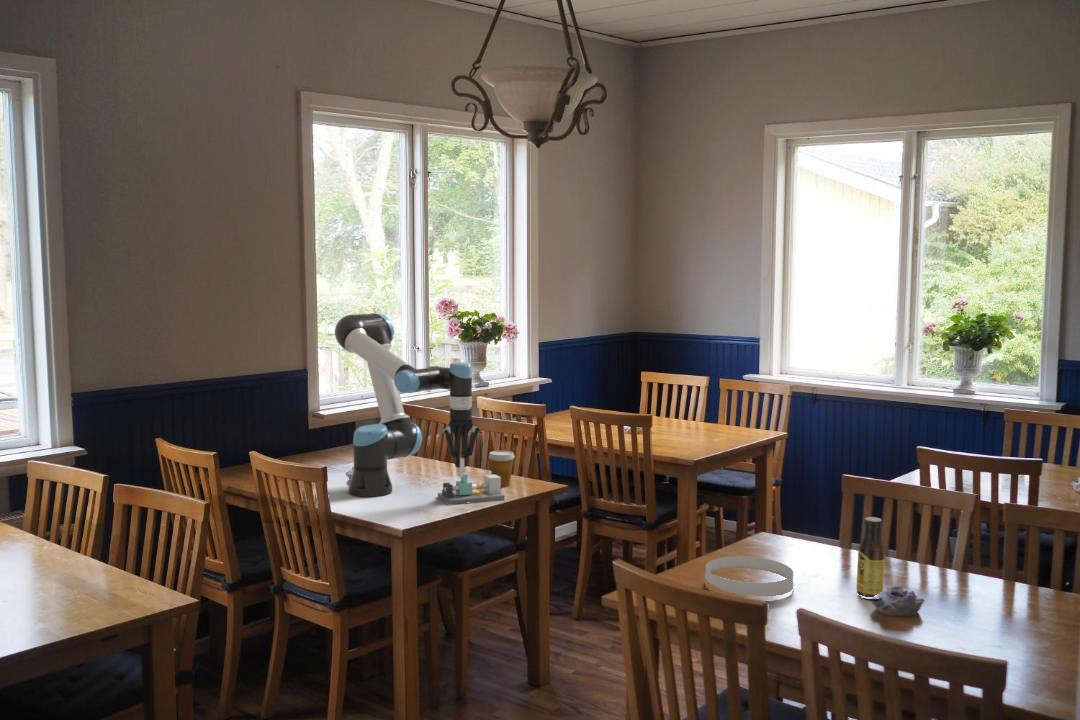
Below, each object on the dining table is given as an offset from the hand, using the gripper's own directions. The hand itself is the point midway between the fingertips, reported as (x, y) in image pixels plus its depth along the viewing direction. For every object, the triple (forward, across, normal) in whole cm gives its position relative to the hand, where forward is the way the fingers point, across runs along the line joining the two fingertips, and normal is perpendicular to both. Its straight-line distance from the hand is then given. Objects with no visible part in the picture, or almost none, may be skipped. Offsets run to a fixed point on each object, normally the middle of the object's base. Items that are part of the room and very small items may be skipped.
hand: (460, 476), depth 338 cm
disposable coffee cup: (+8, +21, +16) cm, 28 cm away
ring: (+10, +37, -114) cm, 120 cm away
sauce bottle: (+9, +60, -132) cm, 145 cm away
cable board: (+8, +4, 0) cm, 9 cm away
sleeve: (+6, +1, 0) cm, 6 cm away
